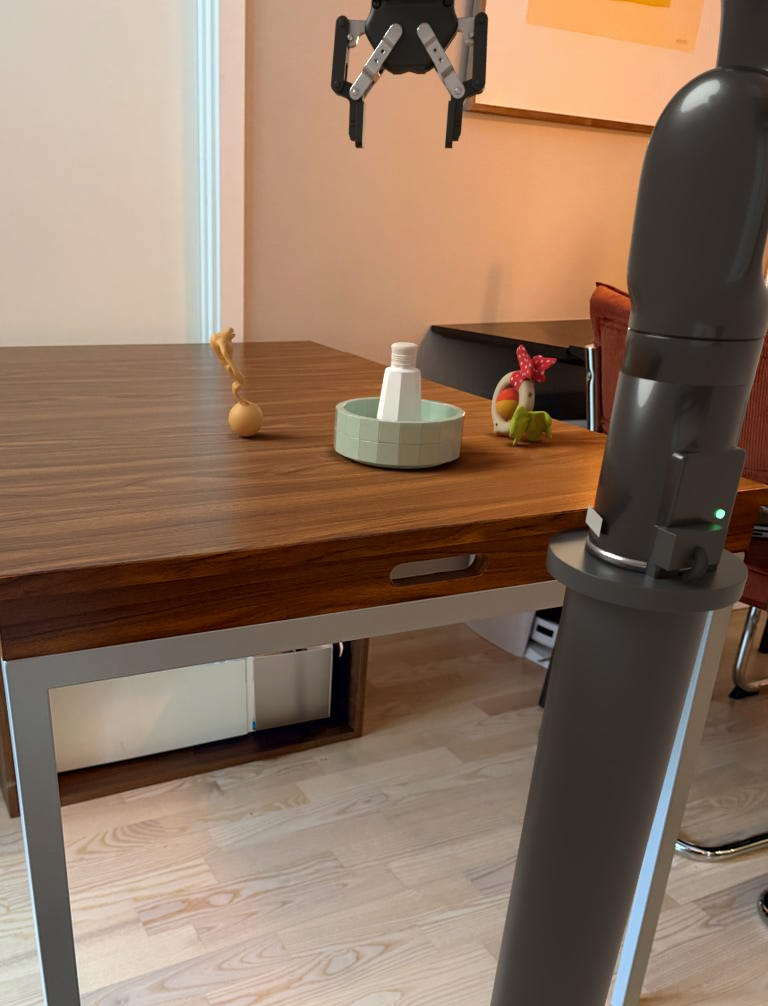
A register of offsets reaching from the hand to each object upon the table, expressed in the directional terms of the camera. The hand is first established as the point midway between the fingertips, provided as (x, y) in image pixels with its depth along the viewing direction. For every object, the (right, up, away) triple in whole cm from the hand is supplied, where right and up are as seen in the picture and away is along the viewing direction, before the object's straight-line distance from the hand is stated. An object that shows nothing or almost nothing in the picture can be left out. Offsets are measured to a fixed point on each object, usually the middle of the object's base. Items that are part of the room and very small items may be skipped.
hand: (404, 147), depth 83 cm
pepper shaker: (+1, -27, +11) cm, 29 cm away
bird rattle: (+15, -24, +20) cm, 34 cm away
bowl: (+1, -27, +11) cm, 29 cm away
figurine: (-17, -24, +18) cm, 34 cm away
